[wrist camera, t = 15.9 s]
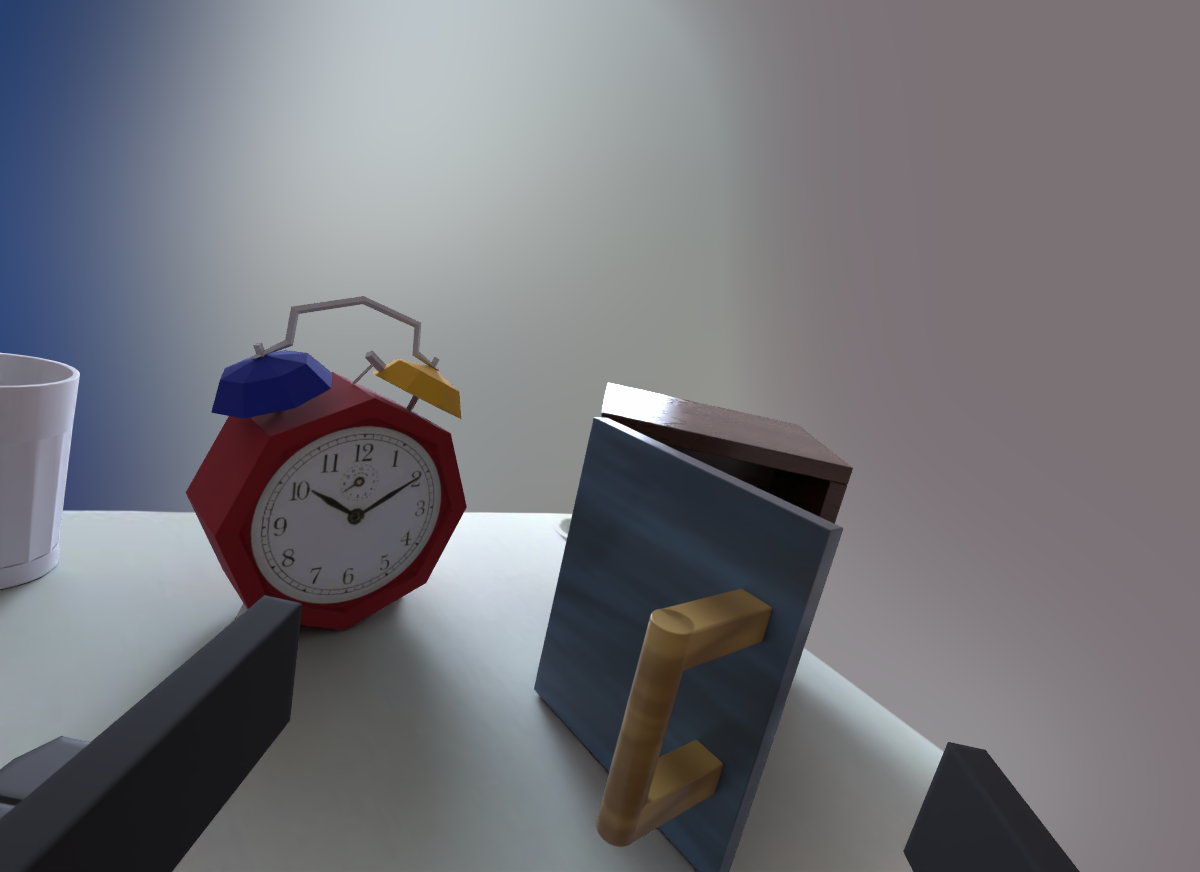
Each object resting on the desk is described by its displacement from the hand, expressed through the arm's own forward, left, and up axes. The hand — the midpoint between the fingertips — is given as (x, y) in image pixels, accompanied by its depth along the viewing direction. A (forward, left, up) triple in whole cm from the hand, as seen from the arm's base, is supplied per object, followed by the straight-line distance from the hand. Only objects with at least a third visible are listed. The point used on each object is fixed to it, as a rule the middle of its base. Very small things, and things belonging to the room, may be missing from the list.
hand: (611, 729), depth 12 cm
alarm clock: (+17, -26, -15) cm, 34 cm away
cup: (+35, -22, -15) cm, 44 cm away
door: (-1, -14, -15) cm, 21 cm away
